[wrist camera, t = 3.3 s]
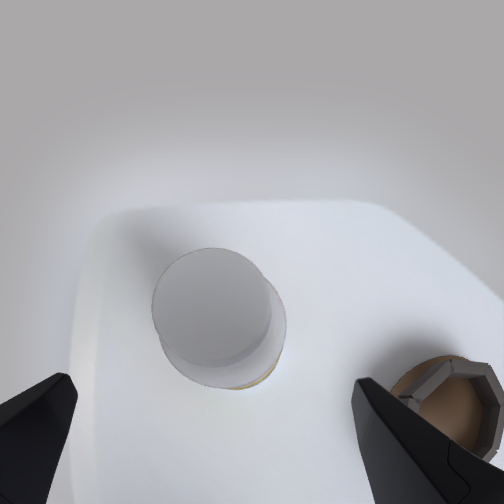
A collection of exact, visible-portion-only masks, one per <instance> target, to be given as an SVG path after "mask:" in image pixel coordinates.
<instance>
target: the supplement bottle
mask: <svg viewBox="0 0 504 504" xmlns="http://www.w3.org/2000/svg"><path fill="white" fill-rule="evenodd" d="M152 317H153V321H154V325H155V328H156V330H157V333H158V335H159V338H160V342H161V345H162V348H163V350H164V353H165V355H166V356H167V358H168V360H169V361H170V362H171V364H172V365H173V366H174V367H175V368H176V369H177V370H178V371H179V372H180V373H181V374H183V375H184V376H185V377H187V378H189V379H190V380H192V381H194V382H196V383H199V384H202V385H204V386H208V387H213V388H222V389H230V390H242V389H246V388H250V387H253V386H255V385H257V384H259V383H261V382H262V381H264V380H265V379H266V378H267V377H268V376H269V375H270V374H271V373H272V371H273V370H274V369H275V367H276V365H277V363H278V360H279V357H280V354H281V352H282V349H283V345H284V341H285V336H286V327H287V325H286V313H285V309H284V305H283V303H282V300H281V298H280V296H279V294H278V293H277V291H276V289H275V288H274V287H273V285H272V284H271V283H270V282H269V281H268V280H267V279H266V278H265V277H264V276H263V275H262V273H261V272H260V270H259V269H258V268H257V267H256V266H255V265H254V264H253V263H252V262H251V261H250V260H248V259H247V258H246V257H244V256H242V255H240V254H238V253H236V252H233V251H230V250H227V249H221V248H205V249H200V250H196V251H193V252H190V253H188V254H186V255H184V256H182V257H181V258H179V259H177V260H176V261H175V262H174V263H172V264H171V265H170V266H169V267H168V268H167V269H166V271H165V272H164V273H163V275H162V276H161V278H160V279H159V281H158V283H157V285H156V288H155V290H154V294H153V300H152Z"/></svg>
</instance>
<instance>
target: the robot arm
mask: <svg viewBox="0 0 504 504" xmlns="http://www.w3.org/2000/svg"><path fill="white" fill-rule="evenodd" d="M77 399H78V393H77V390H76V388H75V386H74V384H73V382H72V380H71V378H70V376H69V375H68V374H64V373H56V374H54V375H52V376H51V377H49V378H47V379H45V380H43V381H42V382H40V383H38V384H36V385H35V386H33V387H31V388H29V389H27V390H26V391H24V392H22V393H21V394H18V395H17V396H15V397H13V398H11V399H9V400H8V401H6V402H4V403H2V404H0V504H46V502H47V498H48V494H49V491H50V488H51V484H52V481H53V478H54V474H55V471H56V468H57V465H58V462H59V459H60V456H61V453H62V450H63V447H64V444H65V442H66V439H67V436H68V433H69V429H70V425H71V421H72V417H73V414H74V410H75V406H76V403H77ZM351 403H352V410H353V415H354V421H355V427H356V432H357V439H358V444H359V449H360V452H361V456H362V459H363V463H364V466H365V469H366V473H367V476H368V480H369V483H370V487H371V490H372V494H373V497H374V501H375V504H504V471H503V470H501V469H499V468H497V467H495V466H493V465H491V464H490V463H488V462H486V461H484V460H482V459H481V458H479V457H477V456H476V455H474V454H472V453H471V452H469V451H468V450H466V449H465V448H463V447H462V446H460V445H459V444H458V443H456V442H455V441H454V440H452V439H450V438H449V437H448V436H447V435H445V434H444V433H443V432H441V431H440V430H439V429H437V428H436V427H435V426H433V425H432V424H431V423H429V422H428V421H427V420H425V419H424V418H423V417H421V416H420V415H419V414H417V413H416V412H415V411H413V410H412V409H411V408H409V407H408V406H407V405H405V404H404V403H403V402H401V401H400V400H399V399H398V398H396V397H395V396H394V395H392V394H391V393H390V392H388V391H387V390H386V389H385V388H383V387H382V386H381V385H379V384H378V383H377V382H375V381H374V380H373V379H372V378H370V377H366V378H359V379H357V380H356V381H355V385H354V390H353V394H352V400H351Z"/></svg>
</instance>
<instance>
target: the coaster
mask: <svg viewBox="0 0 504 504" xmlns="http://www.w3.org/2000/svg"><path fill="white" fill-rule="evenodd" d="M390 393H391V394H392V395H394V396H395V397H396V398H398V399H399V400H400V401H401V402H403V403H404V404H405V405H407V406H408V407H409V408H411V409H412V410H413V411H415V412H416V413H417V414H419V415H420V416H421V417H423V418H424V419H425V420H427V421H428V422H429V423H431V424H432V425H433V426H435V427H436V428H437V429H439V430H440V431H441V432H443V433H444V434H445V435H447V436H448V437H449V438H450V439H452V440H454V441H455V442H456V443H458V444H459V445H460V446H462V447H463V448H465V449H466V450H468V451H469V452H471V453H472V454H474V455H476V456H477V457H479V458H481V459H482V460H484V461H486V462H488V463H489V462H490V460H491V459H492V458H493V457H494V456H495V455H496V453H497V451H496V450H498V449H499V447H500V443H501V438H502V434H503V429H504V391H503V389H502V387H501V385H500V383H499V381H498V379H497V377H496V375H495V373H494V371H493V369H492V367H491V365H488V363H481V362H473V361H470V360H467V359H465V358H463V357H458V356H441V357H437V358H433V359H430V360H428V361H425V362H423V363H421V364H419V365H417V366H416V367H414V368H413V369H411V370H410V371H409V372H407V373H406V374H405V375H404V376H403V377H402V378H401V379H400V380H399V381H398V383H397V384H396V385H395V386H394V388H393V389H392V390H391V392H390Z"/></svg>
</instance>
